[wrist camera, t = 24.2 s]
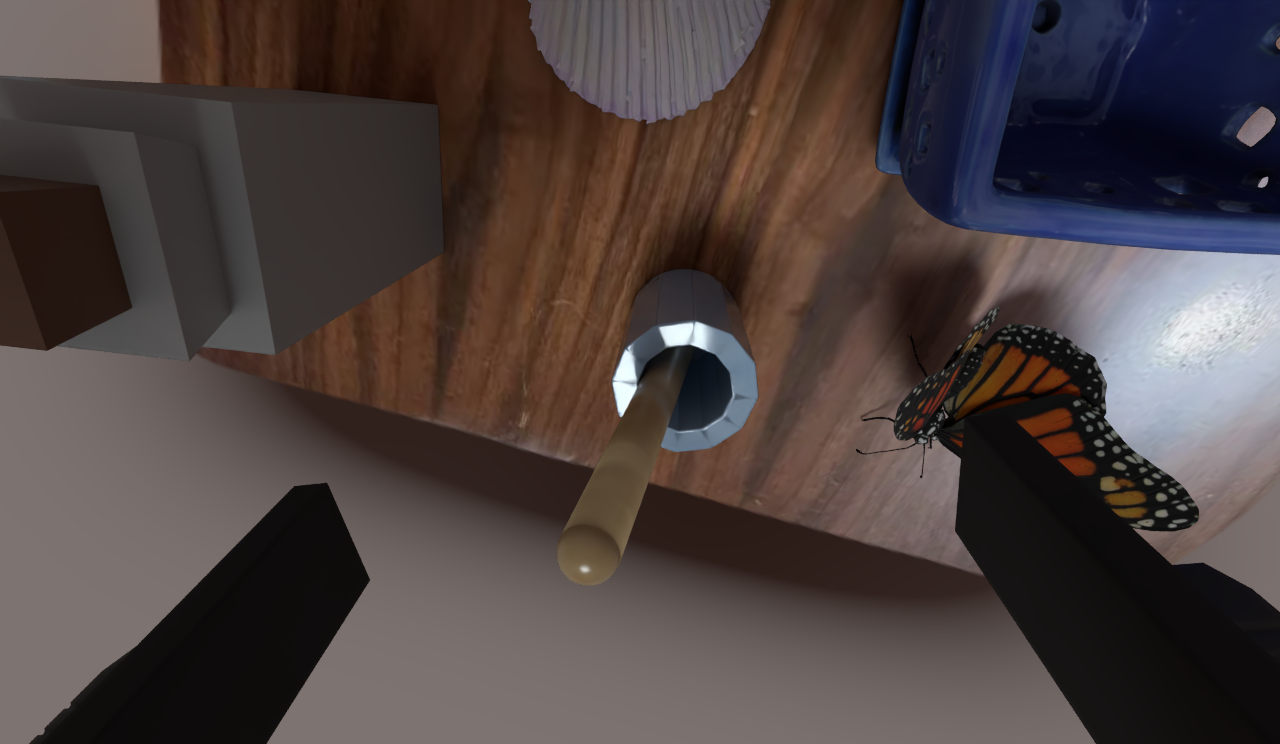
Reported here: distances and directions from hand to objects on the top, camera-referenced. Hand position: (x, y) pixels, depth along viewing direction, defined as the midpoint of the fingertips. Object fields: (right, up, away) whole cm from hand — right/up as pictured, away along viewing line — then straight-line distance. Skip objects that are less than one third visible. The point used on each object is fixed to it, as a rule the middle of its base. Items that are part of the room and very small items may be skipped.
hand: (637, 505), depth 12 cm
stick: (+2, +5, +17) cm, 18 cm away
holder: (+2, +5, +18) cm, 19 cm away
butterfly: (+15, +3, +19) cm, 24 cm away
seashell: (0, +19, +12) cm, 22 cm away
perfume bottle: (-13, +12, +16) cm, 24 cm away
